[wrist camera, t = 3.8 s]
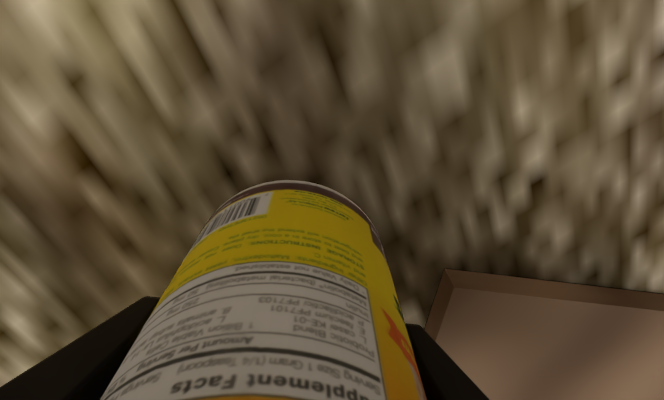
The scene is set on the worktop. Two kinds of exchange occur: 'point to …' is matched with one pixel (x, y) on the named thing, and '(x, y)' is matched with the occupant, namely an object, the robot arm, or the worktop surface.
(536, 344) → the walnut board
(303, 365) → the supplement bottle
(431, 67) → the worktop surface
